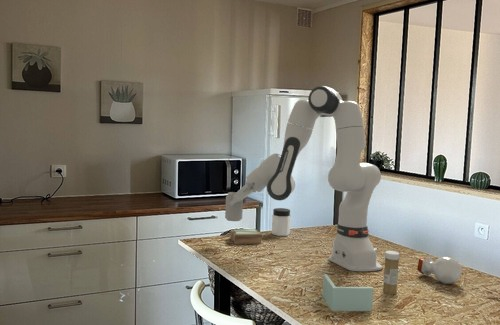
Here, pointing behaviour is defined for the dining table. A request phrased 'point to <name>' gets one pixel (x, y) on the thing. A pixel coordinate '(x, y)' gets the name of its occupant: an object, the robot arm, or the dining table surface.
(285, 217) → the jar
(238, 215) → the can
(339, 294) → the right angle wall
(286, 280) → the dining table surface
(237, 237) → the picture frame
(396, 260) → the sprinkles bottle
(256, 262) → the dining table surface
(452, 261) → the potion bottle
